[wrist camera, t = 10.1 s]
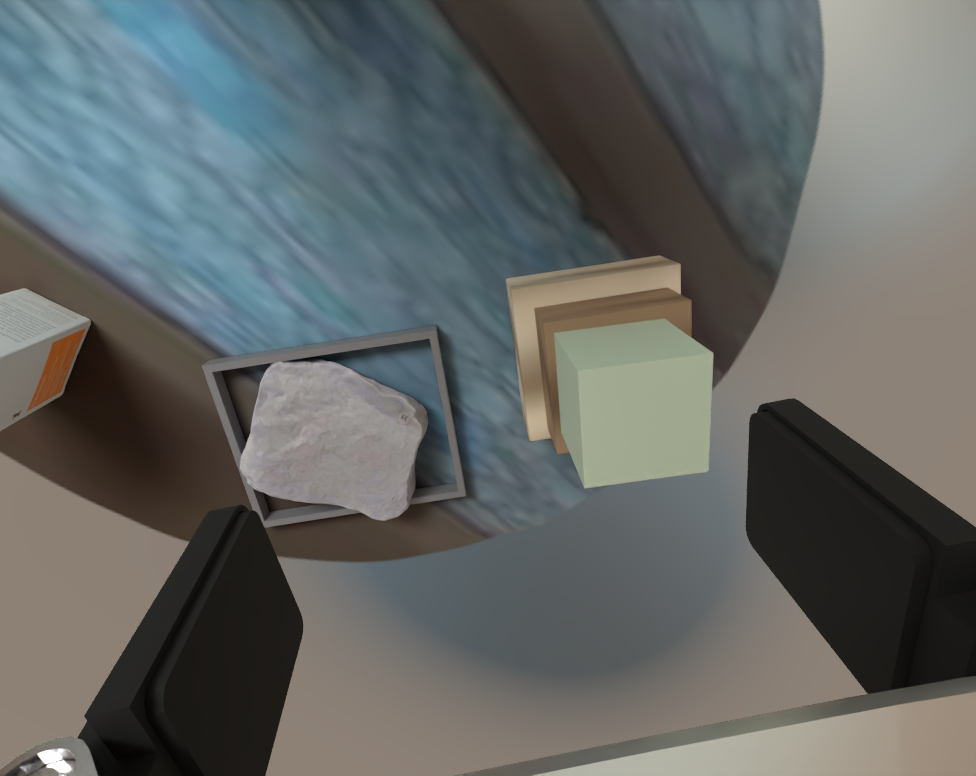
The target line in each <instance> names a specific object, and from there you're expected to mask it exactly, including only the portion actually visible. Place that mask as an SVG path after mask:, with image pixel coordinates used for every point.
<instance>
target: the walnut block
mask: <svg viewBox="0 0 976 776" xmlns="http://www.w3.org/2000/svg"><path fill="white" fill-rule="evenodd" d="M534 311H535V320H536V329H537V338H538V347H539V356H540V365H541V374H542V383H543V392H544V401H545V410H546V419H547V427H548V431H549V434H550V436H551V439H552V442H553V444H554V447H555V450H556V452H557V454H564V453H570V452H569V450H568V447H567V445H566V443H565V440H564V438H563V435H562V433H561V423H560V409H559V395H558V382H557V368H556V355H555V341H554V333H556V332H564V331H571V330H579V329H587V328H594V327H602V326H610V325H618V324H625V323H633V322H641V321H648V320H656V319H666V320H667V321H669V322H670V323H672V324H673V325H674V326H676V327H677V328H679V329H680V330H681V331H683V332H684V333H686V334H687V335H688V336H690V337H691V338H692V300H690V299H688V298H686V297H684V296H682V295H681V294H679V293H677V292H675V291H673V290H671V289H670V288H668V287H667V288H661V289H654V290H648V291H641V292H635V293H628V294H622V295H615V296H609V297H602V298H596V299H589V300H583V301H576V302H570V303H563V304H557V305H550V306H544V307H537V308H534Z"/></svg>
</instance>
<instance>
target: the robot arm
mask: <svg viewBox="0 0 976 776" xmlns="http://www.w3.org/2000/svg"><path fill="white" fill-rule="evenodd" d="M748 452H749V453H748V479H747V508H746V531H747V536H748V539H749V541H750V543H751V545H752V546H753V548H754V549H755V550H756V552H757V553H758V554H759V556H760V557H761V558H762V559H763V561H764V562H765V563H766V564H767V566H768V567H769V568H770V570H771V571H772V572H773V573H774V575H775V576H776V577H777V579H778V580H779V581H780V582H781V584H782V585H783V586H784V588H785V589H786V590H787V591H788V593H789V594H790V595H791V596H792V598H793V599H794V600H795V602H796V603H797V604H798V605H799V607H800V608H801V609H802V611H803V612H804V613H805V614H806V616H807V617H808V618H809V619H810V621H811V622H812V623H813V624H814V626H815V627H816V628H817V630H818V631H819V632H820V633H821V635H822V636H823V637H824V639H825V640H826V641H827V642H828V643H829V645H830V646H831V648H832V649H833V650H834V651H835V653H836V654H837V655H838V656H839V658H840V659H841V660H842V661H843V663H844V664H845V665H846V667H847V668H848V669H849V670H850V672H851V673H852V674H853V675H854V677H855V678H856V679H857V680H858V682H859V683H860V685H861V686H862V687H863V688H864V690H865V691H866V692H867V693H868V694H866V695H861V696H855V697H849V698H844V699H839V700H834V701H829V702H823V703H819V704H813V705H808V706H803V707H798V708H793V709H788V710H782V711H778V712H772V713H767V714H762V715H757V716H752V717H746V718H741V719H736V720H731V721H726V722H721V723H715V724H710V725H705V726H700V727H695V728H690V729H685V730H680V731H674V732H669V733H665V734H659V735H654V736H649V737H644V738H639V739H634V740H629V741H625V742H619V743H614V744H609V745H604V746H599V747H594V748H590V749H584V750H579V751H574V752H569V753H564V754H559V755H554V756H549V757H544V758H539V759H535V760H529V761H524V762H519V763H514V764H510V765H505V766H500V767H494V768H489V769H484V770H480V771H474V772H469V773H465V774H460V775H455V776H976V527H974V526H973V525H972V524H970V523H969V522H968V521H966V520H965V519H963V518H962V517H961V516H959V515H958V514H956V513H955V512H954V511H952V510H951V509H949V508H948V507H947V506H945V505H944V504H942V503H941V502H940V501H938V500H937V499H935V498H934V497H933V496H931V495H930V494H928V493H927V492H926V491H924V490H923V489H921V488H920V487H919V486H917V485H916V484H914V483H913V482H912V481H910V480H909V479H907V478H906V477H905V476H903V475H902V474H900V473H899V472H898V471H896V470H895V469H893V468H892V467H891V466H889V465H888V464H886V463H885V462H884V461H882V460H881V459H879V458H878V457H877V456H875V455H874V454H872V453H871V452H870V451H868V450H867V449H865V448H864V447H863V446H861V445H860V444H858V443H857V442H856V441H854V440H852V439H851V438H850V437H849V436H847V435H846V434H845V433H843V432H841V431H840V430H839V429H838V428H836V427H835V426H833V425H832V424H830V423H829V422H828V421H826V420H825V419H824V418H822V417H821V416H819V415H818V414H816V413H815V412H814V411H812V410H811V409H809V408H808V407H807V406H805V405H804V404H803V403H801V402H800V401H798V400H796V399H786V400H781V401H776V402H770V403H765V404H762V405H760V406H759V409H758V411H757V413H754V414H752V415H751V417H750V423H749V451H748ZM302 634H303V620H302V616H301V613H300V610H299V608H298V606H297V603H296V601H295V598H294V596H293V594H292V591H291V589H290V587H289V585H288V582H287V580H286V577H285V575H284V573H283V570H282V568H281V566H280V563H279V561H278V558H277V556H276V554H275V551H274V549H273V547H272V544H271V542H270V540H269V537H268V535H267V533H266V530H265V528H264V525H263V523H262V521H261V518H260V516H259V514H258V513H257V512H256V511H249V510H248V509H247V508H246V507H245V506H243V505H238V506H233V507H227V508H222V509H217V510H212V511H210V512H208V514H207V515H206V516H205V518H204V519H203V521H202V523H201V524H200V526H199V528H198V529H197V531H196V533H195V534H194V536H193V538H192V539H191V541H190V543H189V544H188V546H187V548H186V549H185V551H184V552H183V554H182V556H181V557H180V559H179V561H178V562H177V564H176V566H175V567H174V569H173V571H172V572H171V574H170V575H169V577H168V579H167V580H166V582H165V584H164V586H163V587H162V589H161V590H160V592H159V594H158V595H157V597H156V599H155V600H154V602H153V603H152V605H151V607H150V609H149V610H148V612H147V613H146V615H145V617H144V618H143V620H142V622H141V624H140V625H139V627H138V628H137V630H136V632H135V633H134V635H133V636H132V638H131V640H130V641H129V643H128V645H127V647H126V648H125V650H124V651H123V653H122V655H121V656H120V658H119V660H118V661H117V663H116V664H115V666H114V668H113V670H112V671H111V673H110V675H109V676H108V678H107V679H106V681H105V683H104V684H103V686H102V688H101V689H100V691H99V693H98V694H97V696H96V697H95V699H94V701H93V702H92V704H91V706H90V708H89V709H88V711H87V713H86V714H85V716H84V717H85V718H86V719H87V723H86V724H85V726H84V728H83V730H82V731H81V733H80V734H79V736H78V738H74V737H63V738H56V739H53V740H50V741H47V742H45V743H42V744H39V745H37V746H35V747H33V748H31V749H30V750H28V751H26V752H25V753H23V754H21V755H19V756H18V757H16V758H15V759H13V760H12V761H11V762H10V763H8V764H7V765H6V766H4V767H3V768H2V769H0V776H265V774H266V771H267V767H268V763H269V759H270V756H271V752H272V748H273V744H274V741H275V737H276V733H277V729H278V726H279V722H280V718H281V714H282V710H283V707H284V703H285V699H286V695H287V691H288V688H289V684H290V680H291V677H292V672H293V669H294V665H295V661H296V657H297V654H298V650H299V646H300V643H301V639H302Z"/></svg>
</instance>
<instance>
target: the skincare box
mask: <svg viewBox="0 0 976 776" xmlns="http://www.w3.org/2000/svg"><path fill="white" fill-rule="evenodd" d="M90 325H91V321H90V320H89V319H88V318H86V317H84V316H81V315H79V314H77V313H75V312H73V311H71V310H69V309H67V308H65V307H63V306H61V305H59V304H56V303H54V302H52V301H50V300H48V299H46V298H44V297H42V296H40V295H38V294H36V293H34V292H32V291H30V290H28V289H25V288H24V289H20V290H16V291H12V292H9V293H5V294H1V295H0V431H1V430H3V429H5V428H7V427H8V426H10V425H12V424H13V423H15V422H17V421H18V420H20V419H22V418H23V417H25V416H27V415H29V414H30V413H32V412H34V411H36V410H37V409H39V408H41V407H42V406H44V405H46V404H48V403H49V402H51V401H53V400H54V399H56V398H58V397H60V396H61V395H63V393H64V390H65V386H66V383H67V381H68V378H69V376H70V373H71V371H72V368H73V365H74V363H75V360H76V357H77V355H78V353H79V350H80V348H81V346H82V343H83V341H84V339H85V336H86V334H87V332H88V329H89V327H90Z"/></svg>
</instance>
